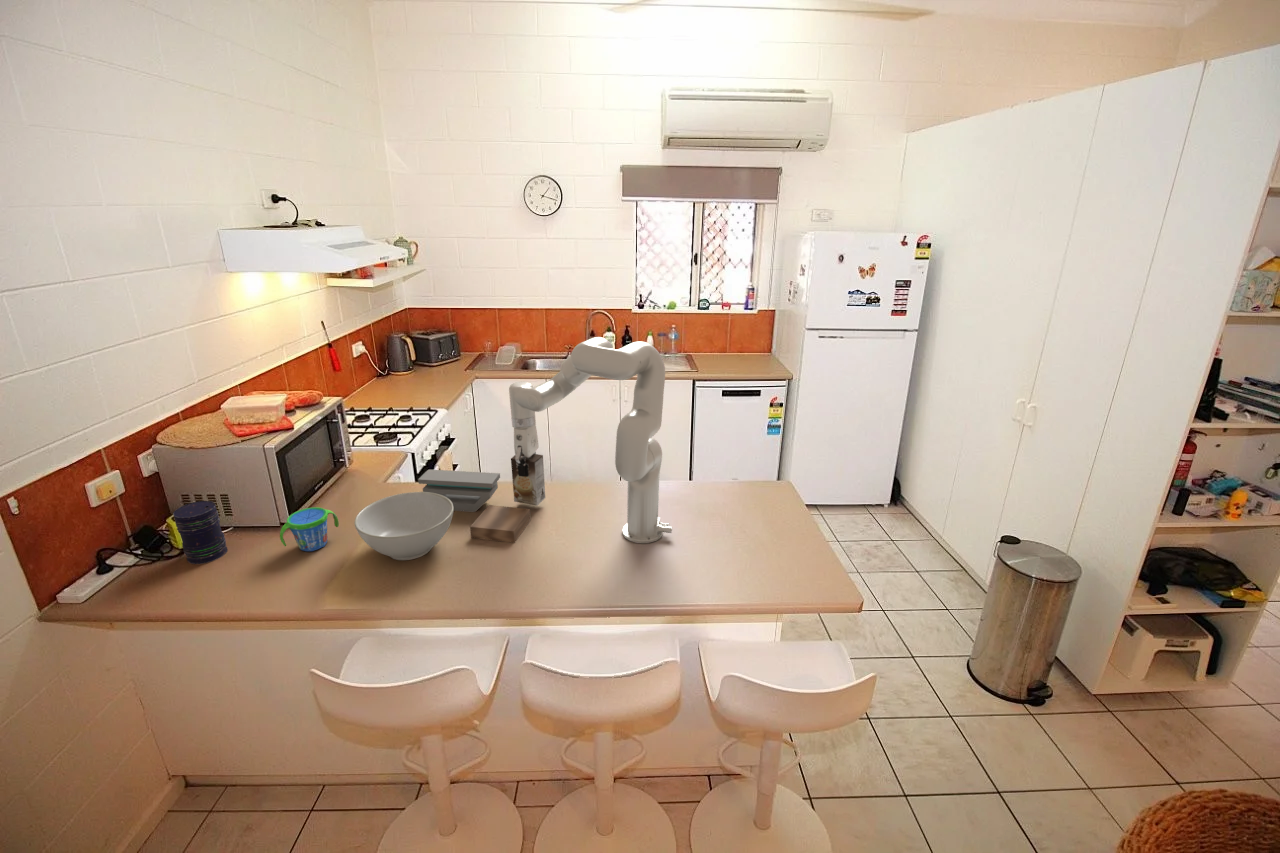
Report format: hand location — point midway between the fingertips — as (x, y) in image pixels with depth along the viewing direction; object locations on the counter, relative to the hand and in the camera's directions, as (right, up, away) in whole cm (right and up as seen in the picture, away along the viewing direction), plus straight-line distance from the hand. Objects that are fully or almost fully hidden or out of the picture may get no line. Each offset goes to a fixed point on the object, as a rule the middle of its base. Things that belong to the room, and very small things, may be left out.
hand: (527, 470), depth 196 cm
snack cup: (-60, -21, -20) cm, 67 cm away
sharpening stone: (-23, -12, +5) cm, 26 cm away
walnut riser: (-6, -18, -9) cm, 21 cm away
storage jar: (-88, -23, -25) cm, 94 cm away
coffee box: (0, -10, +4) cm, 11 cm away
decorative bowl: (-31, -22, -20) cm, 43 cm away
